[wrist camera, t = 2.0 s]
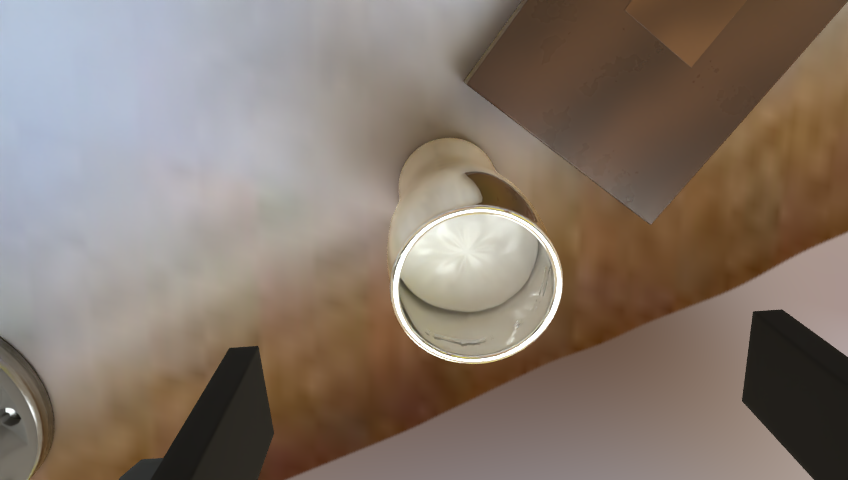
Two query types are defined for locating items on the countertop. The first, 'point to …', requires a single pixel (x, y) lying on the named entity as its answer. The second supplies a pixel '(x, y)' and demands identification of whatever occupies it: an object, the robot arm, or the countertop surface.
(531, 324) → the beer glass
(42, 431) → the robot arm
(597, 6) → the serving board
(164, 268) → the countertop surface
